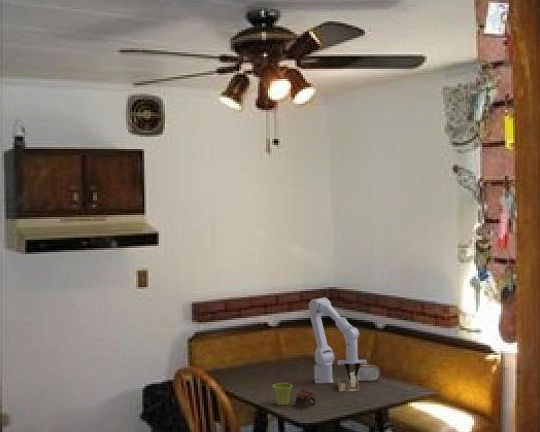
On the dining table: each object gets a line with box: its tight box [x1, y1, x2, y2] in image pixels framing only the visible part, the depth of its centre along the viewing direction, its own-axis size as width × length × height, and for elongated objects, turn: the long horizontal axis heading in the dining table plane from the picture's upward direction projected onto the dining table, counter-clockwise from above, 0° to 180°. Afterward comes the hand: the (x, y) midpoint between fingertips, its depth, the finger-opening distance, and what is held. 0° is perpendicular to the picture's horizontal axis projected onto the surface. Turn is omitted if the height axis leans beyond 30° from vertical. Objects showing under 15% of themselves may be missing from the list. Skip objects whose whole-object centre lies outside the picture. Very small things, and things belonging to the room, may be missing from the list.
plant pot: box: [272, 382, 293, 406], centre depth 307 cm, size 9×9×9 cm
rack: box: [337, 376, 360, 392], centre depth 331 cm, size 10×12×4 cm
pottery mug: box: [294, 389, 317, 409], centre depth 303 cm, size 12×10×8 cm
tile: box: [348, 372, 356, 387], centre depth 331 cm, size 2×9×5 cm, turn 178°
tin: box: [351, 364, 381, 382], centre depth 344 cm, size 15×3×8 cm, turn 84°
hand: (352, 378), depth 331 cm, fingers closed on tile, 2 cm apart
